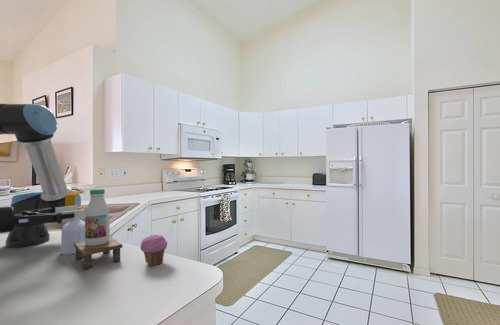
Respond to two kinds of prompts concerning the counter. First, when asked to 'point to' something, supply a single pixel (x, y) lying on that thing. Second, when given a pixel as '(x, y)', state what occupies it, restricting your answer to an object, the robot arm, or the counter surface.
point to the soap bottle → (72, 228)
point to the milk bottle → (97, 219)
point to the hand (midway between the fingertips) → (81, 211)
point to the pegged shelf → (96, 251)
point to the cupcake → (154, 249)
